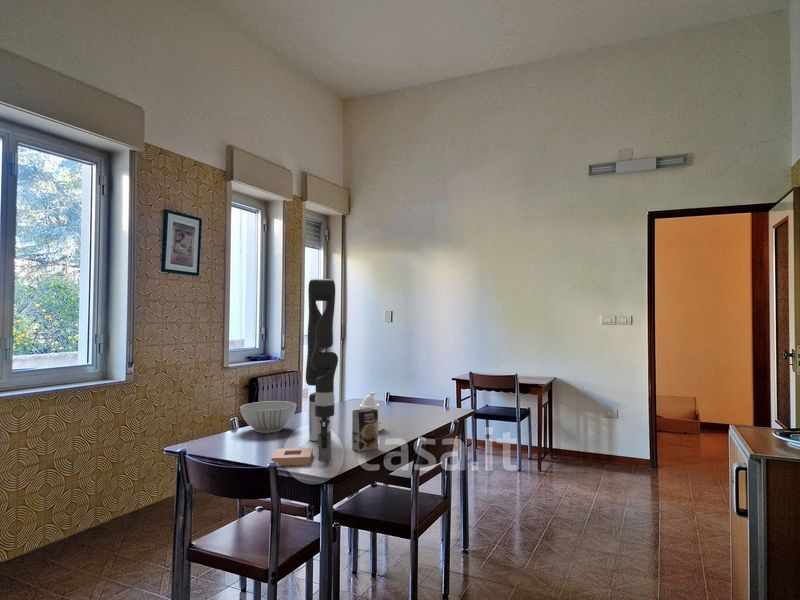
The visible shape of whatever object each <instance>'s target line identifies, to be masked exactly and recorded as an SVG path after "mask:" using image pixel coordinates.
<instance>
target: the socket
mask: <svg viewBox="0 0 800 600" xmlns="http://www.w3.org/2000/svg"><path fill="white" fill-rule="evenodd" d="M313 449H314V447H286V448H282V447H281V448H276V450H275V451H274V453H273V454H272V457H271V458H270V459H271V461H270V463H271V462H272V461H274V462H277V463H278V465H285V466H284V467H290V466H289V465H296V466H310V465H311V462H312V460H311V459H313V456H314V450H313ZM287 465H288V466H287Z"/></svg>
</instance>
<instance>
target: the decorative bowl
mask: <svg viewBox="0 0 800 600" xmlns="http://www.w3.org/2000/svg"><path fill="white" fill-rule="evenodd" d="M296 409H297V403H296V402H293V401H285V400H283V401H282V400H270V401H267V400H266V401H258V402H257V401H255V402H251V403H250V402H249V403H246V404H242V405H241V406H239V411H240V414H241V416H242V418H243V420H244V421H245V422H246V424H247V425H248V426H249V427H251V428H252V429H254V430H255V432H256V433H258V432H260V433H259V434H271V432H273V433H278V432H280V430H281V431H282V429H283V427H285V426H286V425H287V424H288V423H289V422H290V421H291V420H292V419H293V417H294V414H295V412H296ZM277 431H278V432H277Z"/></svg>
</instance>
